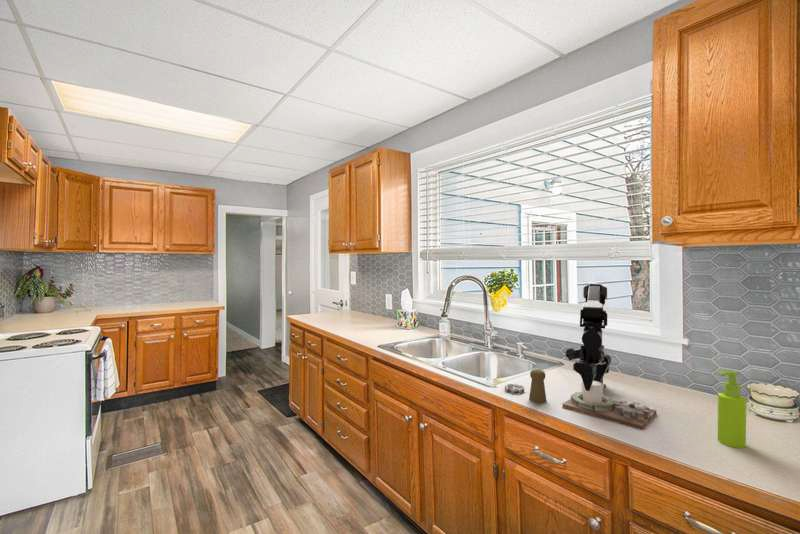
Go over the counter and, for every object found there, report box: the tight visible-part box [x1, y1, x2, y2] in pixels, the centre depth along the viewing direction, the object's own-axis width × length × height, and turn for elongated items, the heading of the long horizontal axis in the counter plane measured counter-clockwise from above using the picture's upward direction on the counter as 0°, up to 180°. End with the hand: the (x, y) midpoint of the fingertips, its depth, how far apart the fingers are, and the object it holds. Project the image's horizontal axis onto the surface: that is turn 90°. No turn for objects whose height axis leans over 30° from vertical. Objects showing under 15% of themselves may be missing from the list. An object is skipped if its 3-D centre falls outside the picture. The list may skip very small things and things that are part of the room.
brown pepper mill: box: [528, 369, 548, 404], centre depth 137 cm, size 6×6×11 cm
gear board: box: [562, 391, 657, 431], centre depth 127 cm, size 16×24×4 cm, turn 43°
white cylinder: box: [581, 380, 605, 404], centre depth 131 cm, size 7×7×7 cm
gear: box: [504, 383, 525, 394], centre depth 147 cm, size 7×7×2 cm
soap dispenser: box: [716, 369, 747, 449], centre depth 105 cm, size 6×7×20 cm
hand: (592, 387), depth 131 cm, fingers open, 9 cm apart
